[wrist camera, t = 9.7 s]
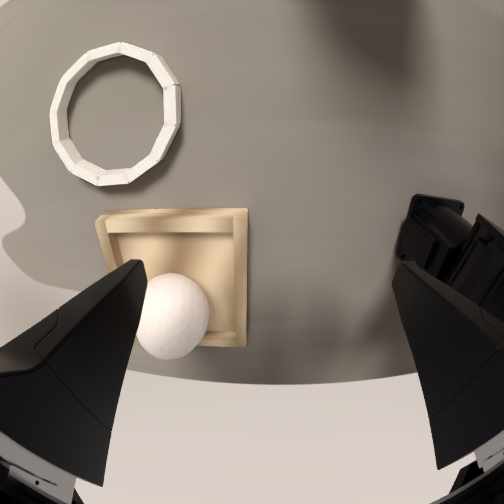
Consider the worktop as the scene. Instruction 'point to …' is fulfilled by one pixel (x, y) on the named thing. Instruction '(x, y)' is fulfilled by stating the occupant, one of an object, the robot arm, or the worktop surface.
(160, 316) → the egg
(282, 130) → the worktop surface
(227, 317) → the tray
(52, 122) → the white faceted hoop
